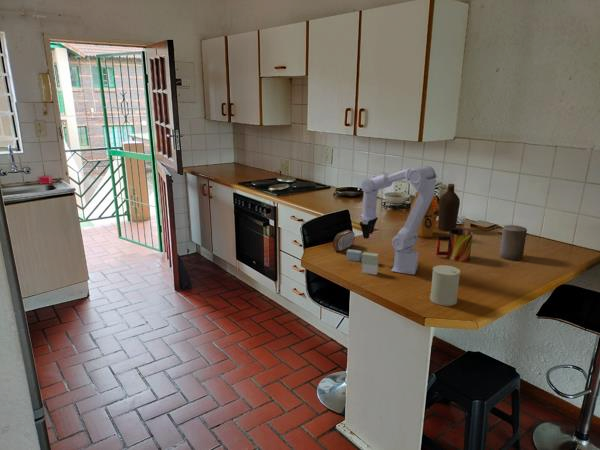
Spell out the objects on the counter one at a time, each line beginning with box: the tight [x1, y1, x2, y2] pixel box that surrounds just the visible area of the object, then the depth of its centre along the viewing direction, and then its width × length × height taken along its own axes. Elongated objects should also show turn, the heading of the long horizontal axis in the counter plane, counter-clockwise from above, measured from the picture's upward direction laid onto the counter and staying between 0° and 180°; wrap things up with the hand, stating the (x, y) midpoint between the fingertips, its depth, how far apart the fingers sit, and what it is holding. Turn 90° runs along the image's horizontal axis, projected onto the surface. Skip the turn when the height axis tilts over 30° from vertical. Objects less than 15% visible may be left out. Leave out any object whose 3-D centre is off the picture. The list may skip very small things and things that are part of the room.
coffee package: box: [410, 191, 435, 239], centre depth 225 cm, size 10×12×22 cm
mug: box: [435, 228, 474, 263], centre depth 193 cm, size 10×14×12 cm
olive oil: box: [437, 183, 461, 232], centre depth 235 cm, size 11×11×25 cm
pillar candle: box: [499, 224, 528, 261], centre depth 195 cm, size 10×10×15 cm
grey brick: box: [361, 263, 379, 276], centre depth 178 cm, size 6×3×4 cm, turn 68°
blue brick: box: [345, 248, 363, 262], centre depth 192 cm, size 6×3×4 cm, turn 68°
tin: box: [332, 229, 356, 252], centre depth 205 cm, size 15×3×8 cm, turn 141°
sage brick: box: [361, 251, 379, 266], centre depth 177 cm, size 6×3×4 cm, turn 69°
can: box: [429, 264, 461, 307], centre depth 153 cm, size 9×9×12 cm
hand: (368, 235), depth 192 cm, fingers open, 7 cm apart
